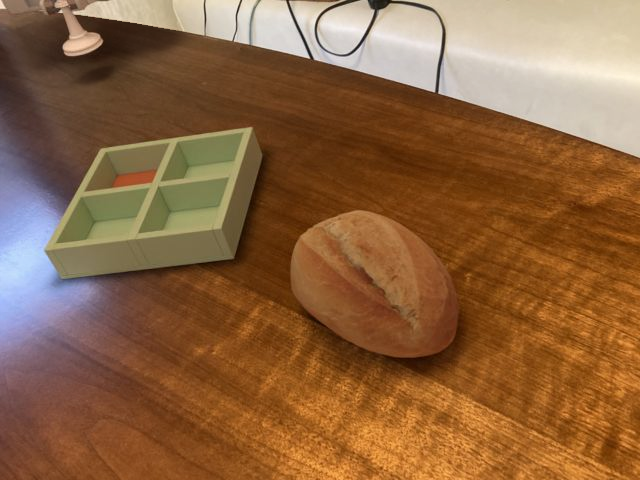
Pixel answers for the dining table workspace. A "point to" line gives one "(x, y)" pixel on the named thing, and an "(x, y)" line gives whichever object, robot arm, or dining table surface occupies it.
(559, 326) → the dining table surface
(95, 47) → the chess piece
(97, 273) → the grid
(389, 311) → the bread roll
